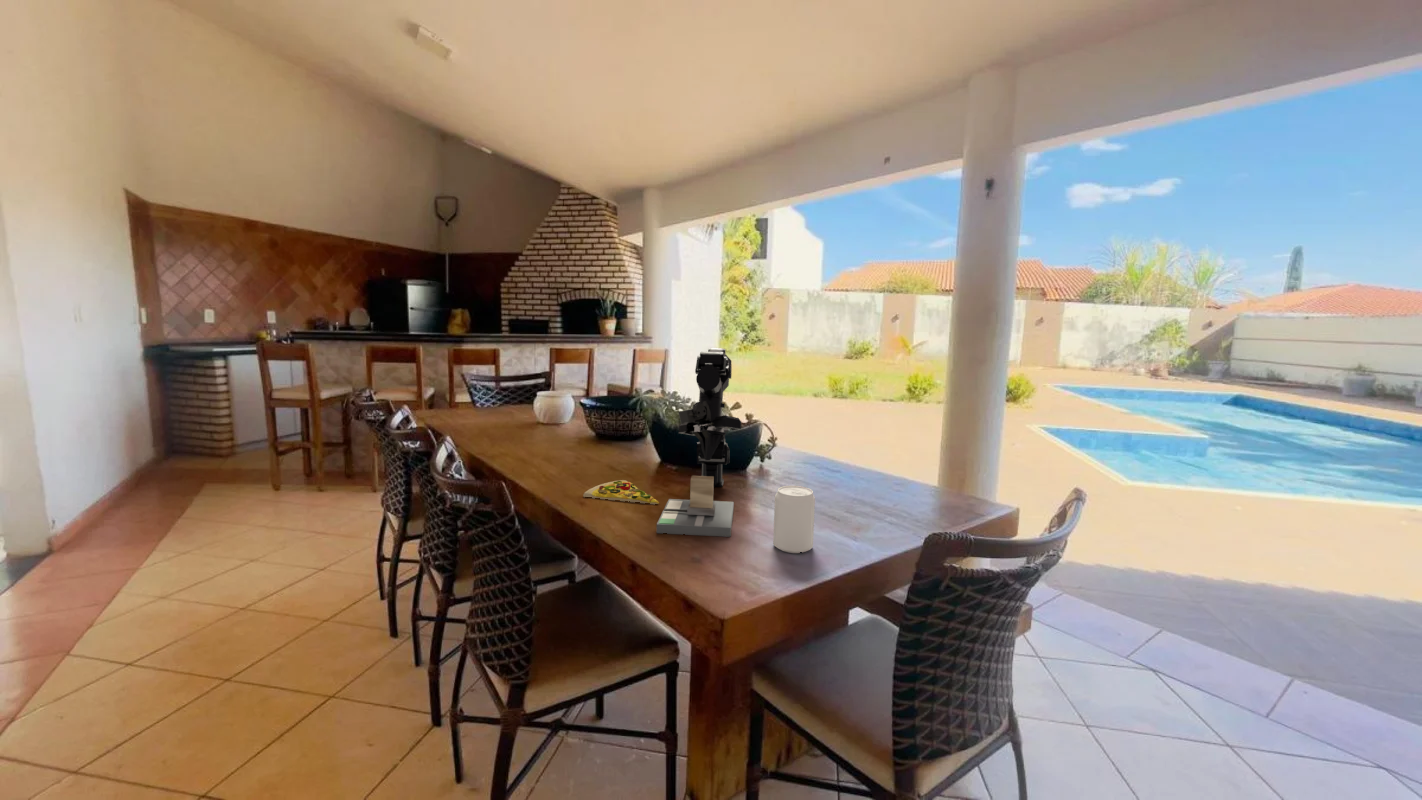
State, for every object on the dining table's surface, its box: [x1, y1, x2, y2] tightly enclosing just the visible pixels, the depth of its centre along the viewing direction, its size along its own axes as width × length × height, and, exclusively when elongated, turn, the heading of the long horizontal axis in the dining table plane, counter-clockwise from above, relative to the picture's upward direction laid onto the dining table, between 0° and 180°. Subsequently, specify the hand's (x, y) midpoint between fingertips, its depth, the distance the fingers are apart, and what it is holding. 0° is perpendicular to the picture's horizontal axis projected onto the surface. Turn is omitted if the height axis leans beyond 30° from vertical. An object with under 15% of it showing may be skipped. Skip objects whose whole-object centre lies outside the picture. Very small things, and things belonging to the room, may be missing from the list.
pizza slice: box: [583, 479, 660, 505], centre depth 149 cm, size 16×21×3 cm
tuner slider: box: [663, 475, 716, 516], centre depth 130 cm, size 5×12×8 cm, turn 86°
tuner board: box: [656, 498, 735, 538], centre depth 132 cm, size 18×16×2 cm
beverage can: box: [772, 485, 816, 554], centre depth 117 cm, size 8×8×12 cm
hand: (707, 460), depth 144 cm, fingers closed
